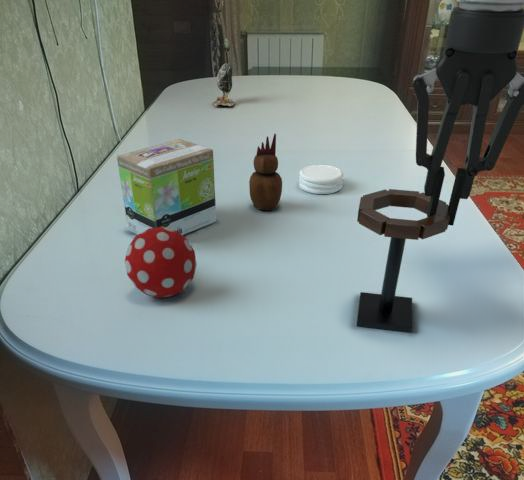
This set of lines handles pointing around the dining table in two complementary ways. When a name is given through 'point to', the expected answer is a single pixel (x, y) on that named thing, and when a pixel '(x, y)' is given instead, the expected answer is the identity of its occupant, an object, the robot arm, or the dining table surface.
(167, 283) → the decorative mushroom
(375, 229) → the ring
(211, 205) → the tea box
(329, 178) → the coaster
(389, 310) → the stand
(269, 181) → the wooden figurine
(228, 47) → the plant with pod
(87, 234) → the dining table surface
